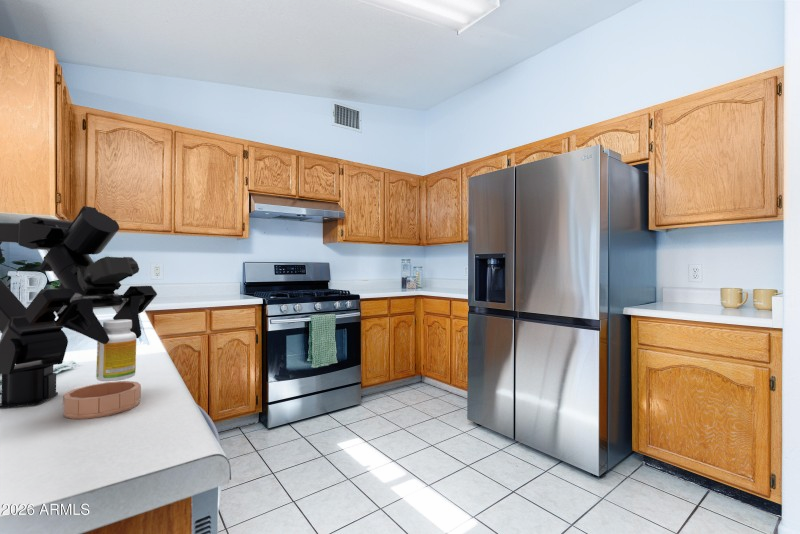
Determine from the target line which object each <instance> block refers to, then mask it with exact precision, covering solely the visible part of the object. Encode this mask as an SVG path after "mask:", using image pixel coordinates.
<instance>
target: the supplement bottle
mask: <svg viewBox="0 0 800 534" xmlns="http://www.w3.org/2000/svg"><path fill="white" fill-rule="evenodd" d="M102 326H103V328H104V330H105V331H106V333H107V335H108V337H109V341H108V342H107V344H102V343H100V342H98V341H96V342H97V345H96V370H95V371H96V372H95V373H96V374H95V375H96V376H95V378H96V380H97V381H100V382H118V381H125V380H127V379H131V378H133V377H135V375H136V367H137V365H136V364H137V363H136V362H137V358H136V357H137V338H136V334H135V333H133V332H131V331H130V329H131V328H132V320H128V319H119V320H114V319H108V320H104V321H103V322H102Z"/></svg>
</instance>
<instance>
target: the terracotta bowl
mask: <svg viewBox="0 0 800 534" xmlns="http://www.w3.org/2000/svg"><path fill="white" fill-rule="evenodd" d="M141 398H142V384H141V383H139V382H138V381H131V380H129V381H128V380H119V381H105V382H100V383H95V384H89V385H86V386H81V387H77V388H74V389H71V390H69V391H67V392H66V393H63V394H62V411H63V417H65V418H66V419H71V420H85V419H86V420H87V419H88V420H89V419H95V418H102V417H103V418H104V417H107V416H112V415H115V414H121V413H123V412H126V411H128V410H132V409H134V408H135V407H137V406H139V404H140V403H141V402H140V401H141V400H140V399H141Z"/></svg>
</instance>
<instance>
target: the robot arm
mask: <svg viewBox="0 0 800 534" xmlns="http://www.w3.org/2000/svg"><path fill="white" fill-rule="evenodd" d="M119 230H120V225H119V223H118V222H117V221H116V220H114V219H113V218H112V217H110V216H108V215H106V214H105V213H103V212H100V211H98V209H97V208H96V207H92V206H86V205H85V206H84V205H83V206H82V207H81V208H80V210H79V212H78V214H77V216H76V217H75V218H74V220H73V221H71V220H64V219H58V218H57V219H55V218H47V217H38V216H31V217H26V218H22V219H19V222H16V223H15V222H0V246H1V244H2V243H13V244H14V243H16V244H17V245H18V246H20V247H23V248H26V249H29V250H37V251H38V250H42V251H48V252H47V253H46V254H45V256H43V259H42V262H41V263H40V265H39V271H40V272H53V274H54V275H55V277H56V278H57V280H58V281H59V282H60V284H59V285H58V287H56V288H44V289H43V288H42V289H40V291H39V292H38V293H37V294H36V295H35V297H34V298H33V299H32V301H31V302H30V304H29V305H28V306H27V307H26V306H25V305H24V304H23V303H22V302H21V301H20V300H19V298H18V297H17V296H16V295H15V294H14V293H13V292H12V291H11V289H10V288H9V287H8V286H7V285H6V284H5V283H4V281H2V279H1V278H0V333H1V336H0V374H1V402H0V409H3V408H12V407H13V408H16V407H28V406H29V407H30V406H37V405H40V404H43V403H45V402H47V401H48V400H50V399H53V398H54V397H56V396H58V395H59V392H58V391H57V373H56V372H54V366H55V365H62V364H63V362H64V358H65V355H66V352H67V347H68V345H69V339H68V337H67V335H66V333H65V331H63V330H62V329H63V328H66V329H67V330H70V331H73V332H76V333H79V334H81V335H84V336H85V337H87V338H90V339H92V340H94V341H96V342H97V341H98V342H100V343H102V344H107V342H108V341H109V337H108V335H107V333H106V331H105V330H104V328H103V324H102V323H101V322H100V320H99V318H98V317H97V316H96V314H95V313H94V310H96V309H97V310H99V309H110V308H112V309H113V310H114V312H115V313H116V314H115V315H114V316H113V317H112V320H119V319H128V320H132V328H131V329H130V331H131V332H133V333H135V334H136V339H140V337H141V336H142V328H141V322H140V317H139V314H141V313H143V312H144V310H146V309H147V307H149V305H150V303H152V301H153V300H154V299H155V298H156V297H157V295H158V293H157V291H156V290H155V289H154V288H153V286H152V285H131V286H129V287H128V288H127V290H125V292H124V293H123V294H119V293H116V292H115V291H118V290H119V289H120V287H122V284H121V281H124V280H125V279H127V278H132V277H133V276H134V275H135V274H138V273H139V272H140V268H139V264H138V262H137V261H136V260H135V259H134V258H133V257H132V256H122V257H119V256H117V257H116V256H105V257H102V258H99V259H97V260H96V261H94V260H93V259H92V258H91V256H90V255H98V254H101V253H102V252H103V250H104V249H105V248H106V247H107V246H108V245H109V243H110V242H111V240H112V239H113V238H114V237H115V235H116V234H117V233H118V232H119ZM2 257H3V252H2V249H1V247H0V260H1V259H2ZM55 313H56V314H55ZM56 318H57V319H56Z"/></svg>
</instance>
